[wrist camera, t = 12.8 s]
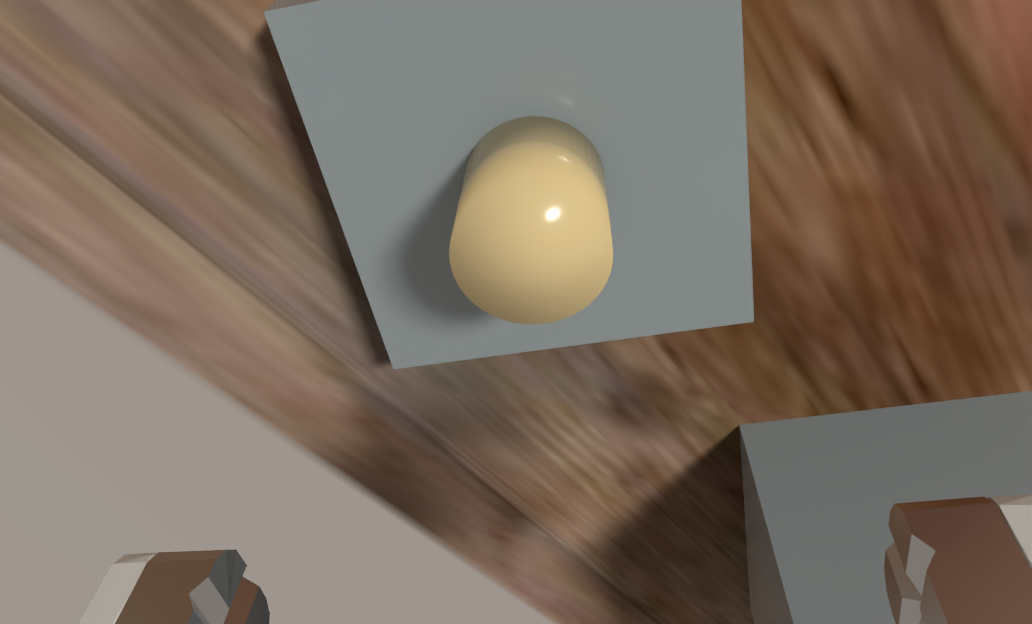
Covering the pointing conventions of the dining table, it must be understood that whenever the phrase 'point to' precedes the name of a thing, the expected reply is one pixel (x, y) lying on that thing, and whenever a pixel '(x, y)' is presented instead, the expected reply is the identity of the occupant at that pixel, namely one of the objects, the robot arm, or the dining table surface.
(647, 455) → the dining table surface
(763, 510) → the grey open box
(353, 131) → the block with cream knob
